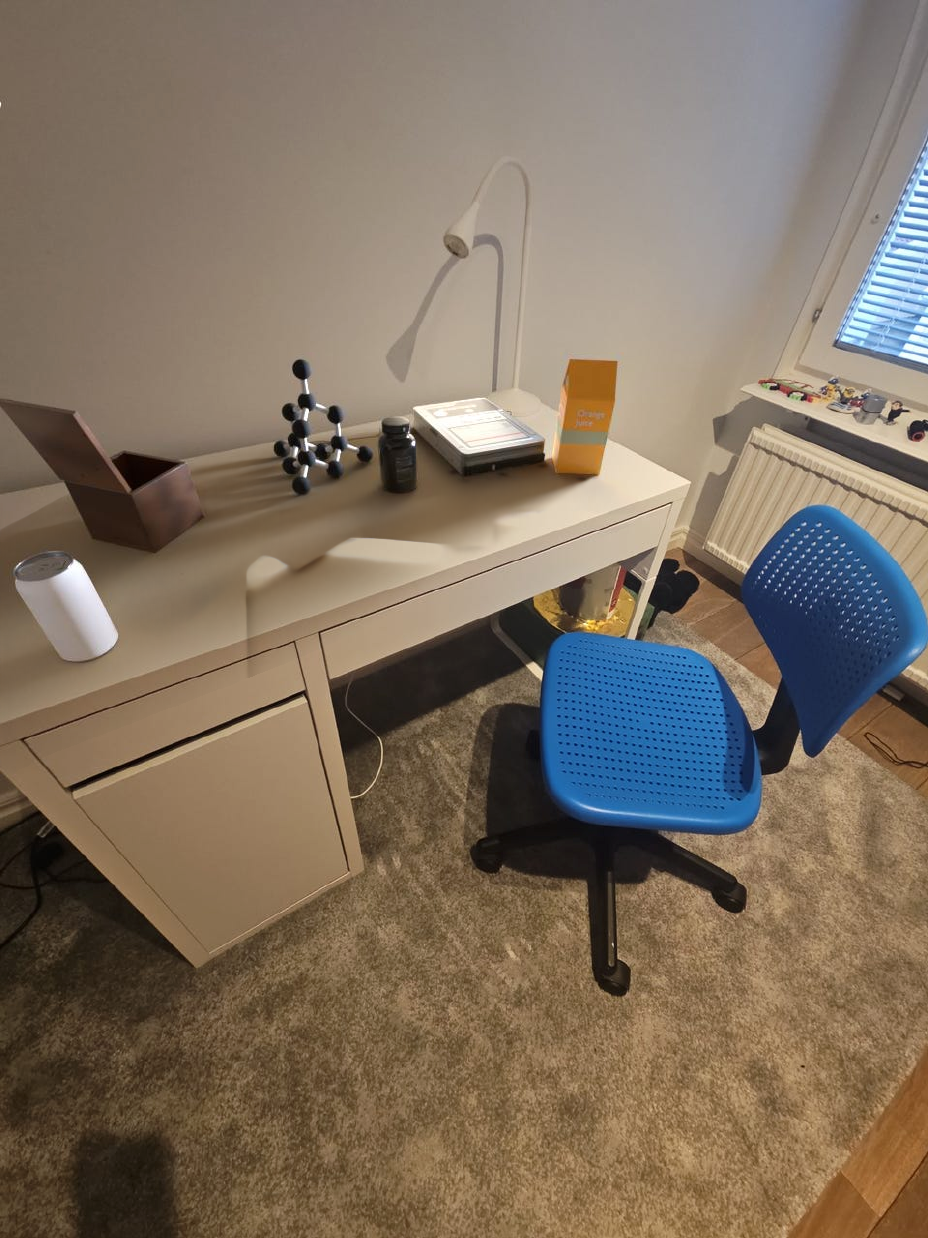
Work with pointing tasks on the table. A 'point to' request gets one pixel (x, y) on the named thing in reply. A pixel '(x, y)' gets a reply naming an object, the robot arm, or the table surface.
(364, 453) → the molecular model
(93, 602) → the can
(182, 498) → the box
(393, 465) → the supplement bottle
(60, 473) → the lid
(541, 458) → the hard drive
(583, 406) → the orange juice
